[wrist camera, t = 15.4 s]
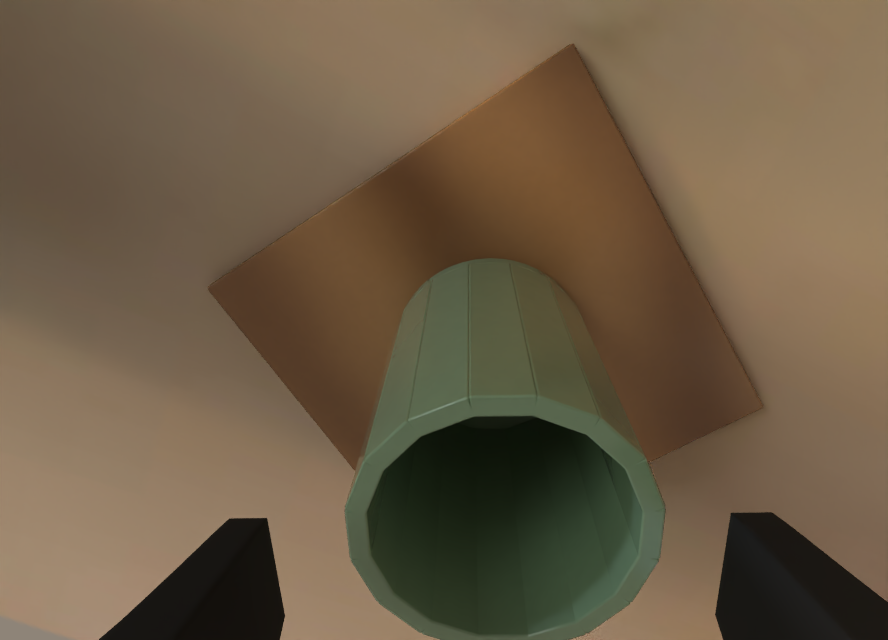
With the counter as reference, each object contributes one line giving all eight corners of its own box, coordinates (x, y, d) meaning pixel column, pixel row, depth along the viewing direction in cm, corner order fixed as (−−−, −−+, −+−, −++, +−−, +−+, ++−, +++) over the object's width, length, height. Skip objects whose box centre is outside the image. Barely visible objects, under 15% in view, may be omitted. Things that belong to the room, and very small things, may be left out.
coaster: (432, 558, 22) (431, 566, 22) (211, 283, 18) (205, 288, 18) (758, 401, 19) (764, 407, 19) (571, 43, 16) (573, 42, 15)
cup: (401, 431, 20) (359, 650, 12) (388, 259, 18) (330, 398, 10) (580, 429, 19) (650, 651, 12) (589, 255, 17) (680, 393, 10)
